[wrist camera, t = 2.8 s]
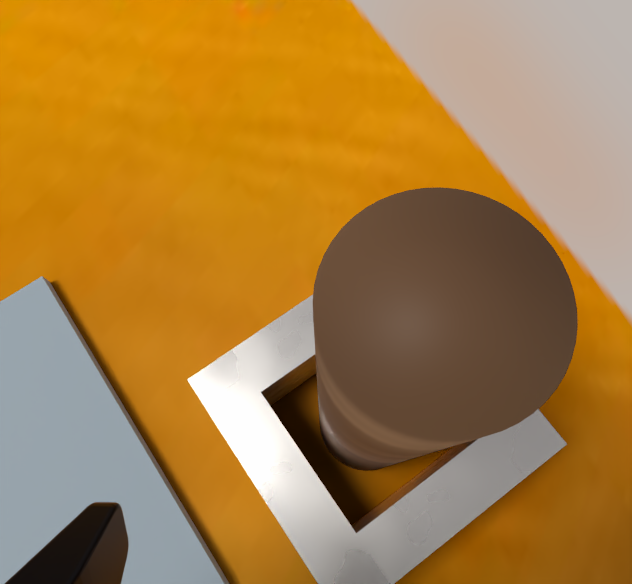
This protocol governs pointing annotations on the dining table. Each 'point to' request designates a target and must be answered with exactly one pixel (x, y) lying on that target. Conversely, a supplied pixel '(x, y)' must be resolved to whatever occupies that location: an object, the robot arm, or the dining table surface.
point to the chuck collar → (311, 495)
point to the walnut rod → (436, 326)
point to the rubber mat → (79, 451)
